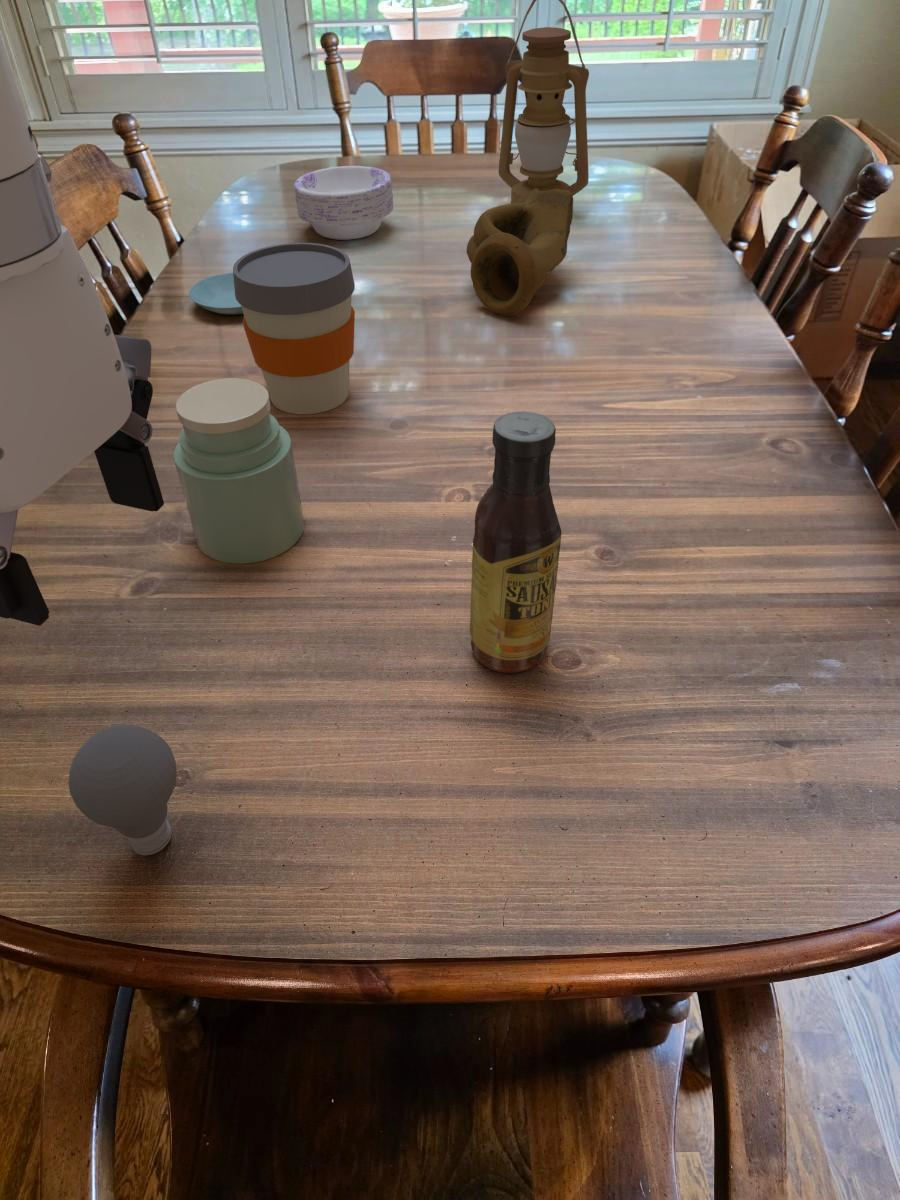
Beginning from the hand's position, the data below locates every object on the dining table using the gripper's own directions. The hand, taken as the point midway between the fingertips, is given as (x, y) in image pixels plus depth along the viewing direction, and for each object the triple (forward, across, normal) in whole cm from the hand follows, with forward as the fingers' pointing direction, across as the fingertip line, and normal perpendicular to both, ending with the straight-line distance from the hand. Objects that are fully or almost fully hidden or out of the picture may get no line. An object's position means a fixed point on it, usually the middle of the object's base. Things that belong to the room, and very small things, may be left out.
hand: (84, 556), depth 46 cm
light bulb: (+20, +4, +1) cm, 21 cm away
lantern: (+20, -121, -7) cm, 122 cm away
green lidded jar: (+20, -27, -9) cm, 35 cm away
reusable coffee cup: (+20, -52, -16) cm, 58 cm away
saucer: (+20, -72, -37) cm, 83 cm away
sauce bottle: (+20, -20, +18) cm, 34 cm away
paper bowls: (+20, -103, -34) cm, 110 cm away
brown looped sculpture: (+20, -91, -2) cm, 93 cm away
